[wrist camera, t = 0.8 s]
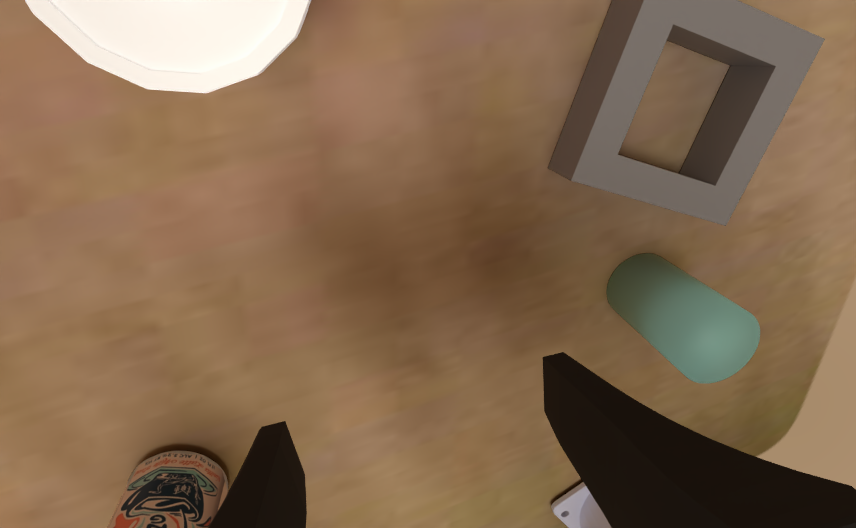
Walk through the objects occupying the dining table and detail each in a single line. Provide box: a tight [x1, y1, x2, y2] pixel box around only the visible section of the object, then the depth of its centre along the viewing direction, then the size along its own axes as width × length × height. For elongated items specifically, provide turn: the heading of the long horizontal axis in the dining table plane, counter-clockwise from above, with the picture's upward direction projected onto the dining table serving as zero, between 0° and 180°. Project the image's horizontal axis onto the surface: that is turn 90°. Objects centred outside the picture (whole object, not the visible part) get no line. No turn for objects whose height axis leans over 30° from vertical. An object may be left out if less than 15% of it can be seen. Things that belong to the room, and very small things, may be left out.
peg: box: [607, 253, 760, 383], centre depth 23 cm, size 4×4×6 cm
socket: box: [548, 0, 825, 226], centre depth 21 cm, size 8×8×2 cm
